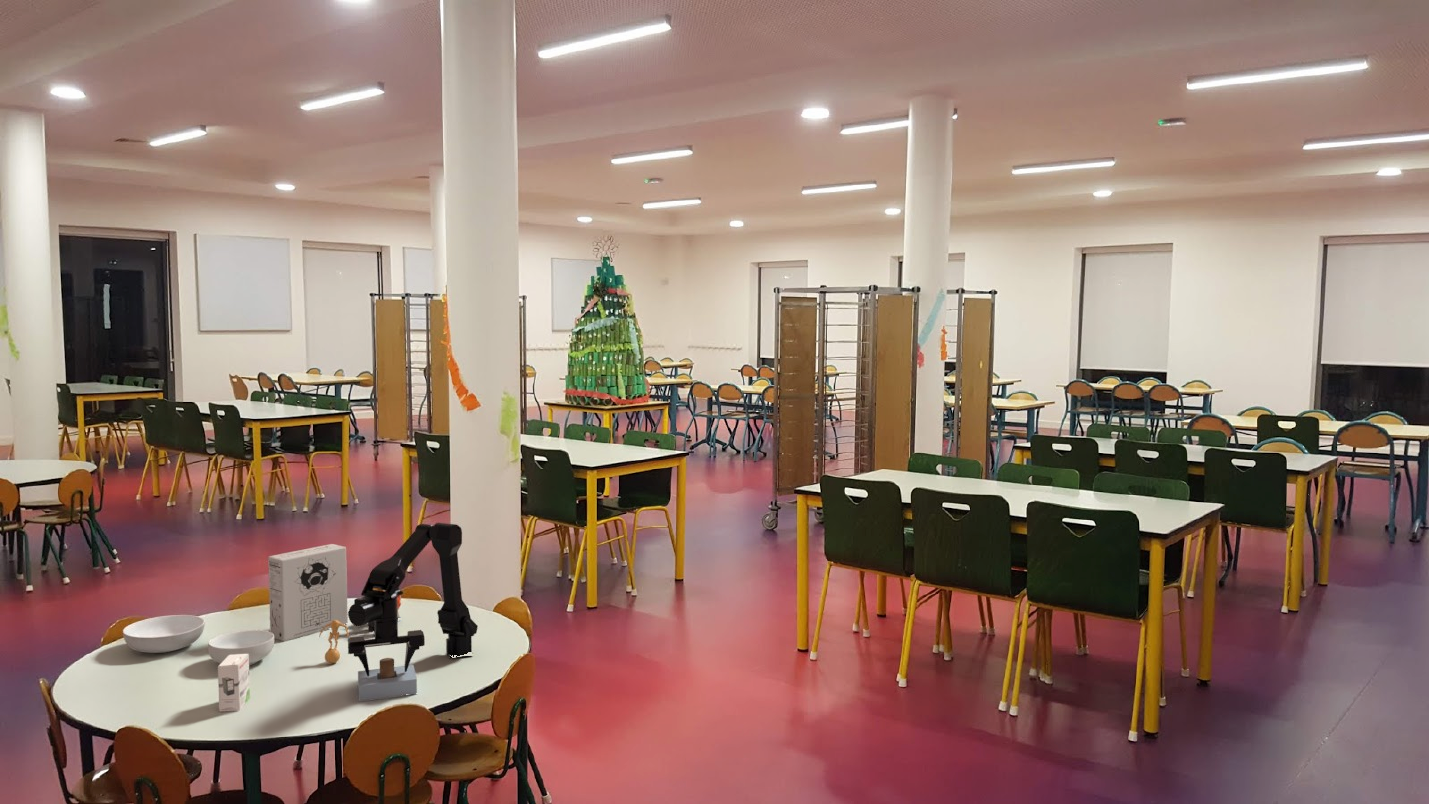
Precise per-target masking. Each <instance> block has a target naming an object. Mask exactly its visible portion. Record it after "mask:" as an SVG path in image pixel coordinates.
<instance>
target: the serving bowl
mask: <svg viewBox="0 0 1429 804" xmlns="http://www.w3.org/2000/svg"><path fill="white" fill-rule="evenodd" d="M205 625H206V621H205V619H204V618H203V617H200V616H197V615H190V614H173V615H163V616H162V615H161V616H155V617H151V618H146V619H142V620H139V621H135V622H133V623H131V624H129V625H126V626H125V627H124V628H123V629H122V635H123V639H124V642H125V643H126V645H128V647H130V648H131V649H133V650H134V651H137V652H142V653H149V654H151V653H152V654H164V653H169V652H170V653H171V652H174V651H178V650H180V649H184V648H186V647H188V646H191V645H192V644H194V643H195V642H197V640H199V638H201V636H202V634H203V632H204V630H205Z"/></svg>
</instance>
